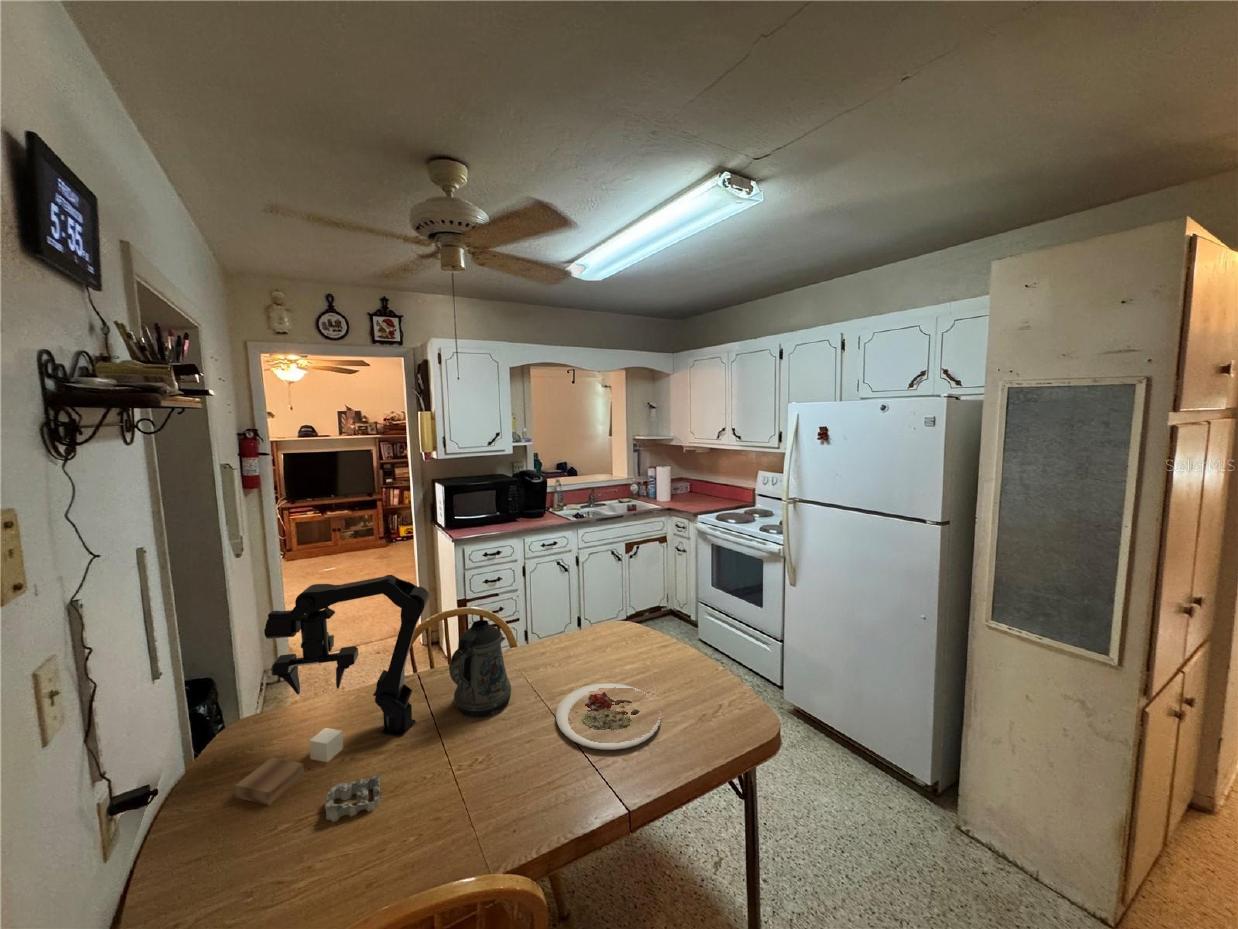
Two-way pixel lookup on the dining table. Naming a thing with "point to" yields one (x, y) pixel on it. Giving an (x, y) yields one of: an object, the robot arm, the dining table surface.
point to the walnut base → (269, 781)
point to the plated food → (599, 716)
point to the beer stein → (480, 672)
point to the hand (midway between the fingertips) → (318, 690)
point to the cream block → (326, 744)
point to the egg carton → (346, 792)
